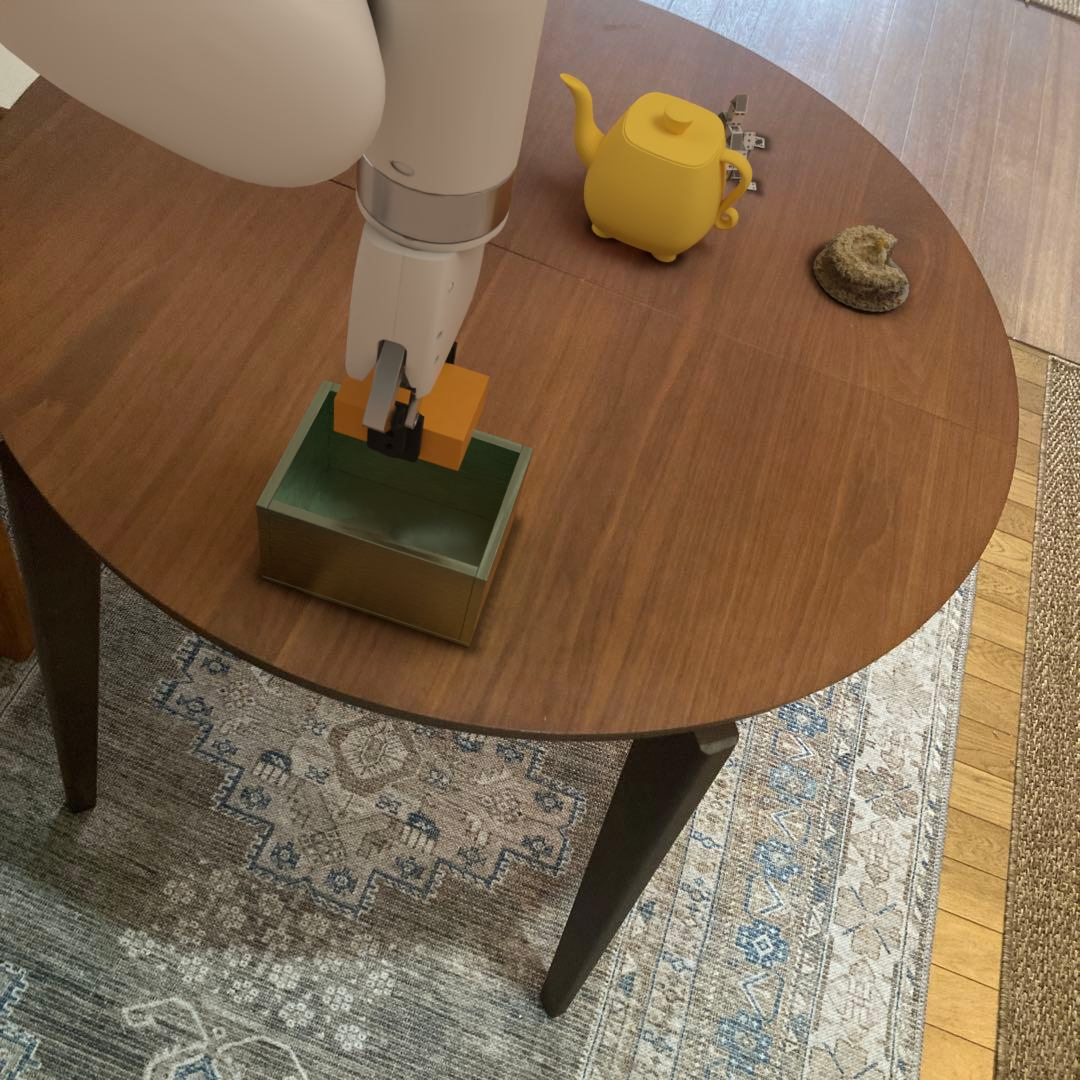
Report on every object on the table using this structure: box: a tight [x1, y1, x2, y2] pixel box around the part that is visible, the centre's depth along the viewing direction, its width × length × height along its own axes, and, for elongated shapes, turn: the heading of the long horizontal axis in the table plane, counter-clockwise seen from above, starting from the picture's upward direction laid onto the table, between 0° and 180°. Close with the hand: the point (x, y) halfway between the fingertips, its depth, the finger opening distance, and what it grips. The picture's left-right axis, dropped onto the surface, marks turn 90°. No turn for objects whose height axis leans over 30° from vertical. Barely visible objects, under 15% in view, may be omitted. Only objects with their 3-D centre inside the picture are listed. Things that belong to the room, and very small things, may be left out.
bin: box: [255, 378, 534, 648], centre depth 74 cm, size 16×12×10 cm
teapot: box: [559, 72, 753, 263], centre depth 98 cm, size 14×20×13 cm
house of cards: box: [717, 93, 765, 191], centre depth 108 cm, size 9×9×8 cm
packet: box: [334, 362, 490, 471], centre depth 64 cm, size 8×6×3 cm
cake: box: [812, 224, 911, 313], centre depth 102 cm, size 10×10×5 cm
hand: (410, 413), depth 65 cm, fingers closed on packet, 5 cm apart
